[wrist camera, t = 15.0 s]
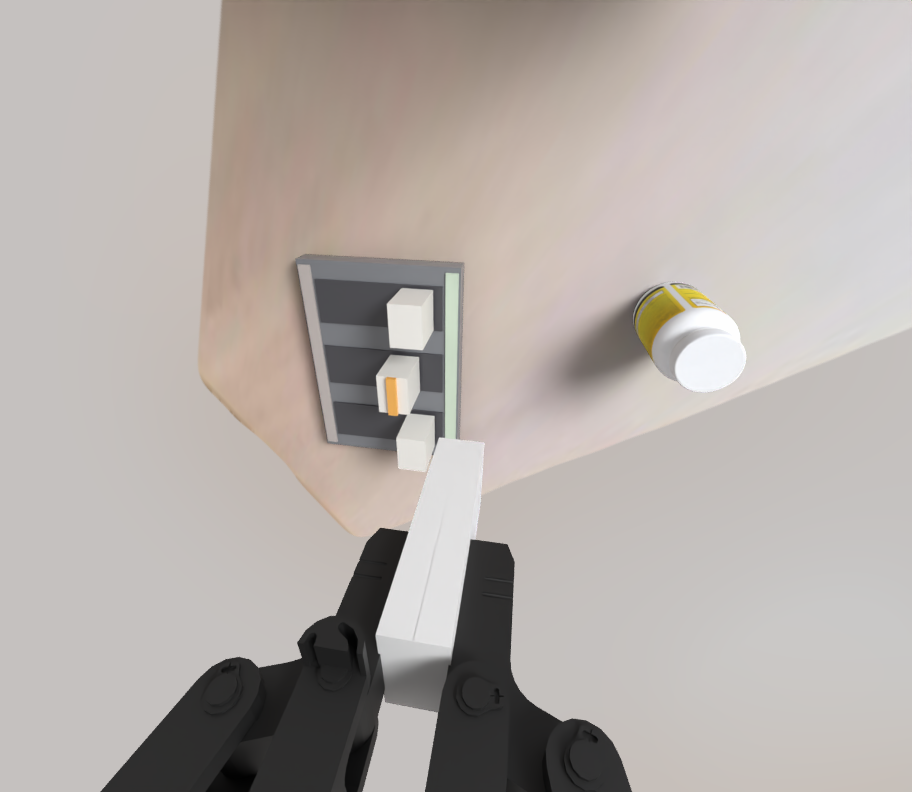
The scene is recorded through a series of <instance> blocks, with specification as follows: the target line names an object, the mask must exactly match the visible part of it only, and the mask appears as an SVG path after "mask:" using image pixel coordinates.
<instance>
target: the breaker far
mask: <svg viewBox="0 0 912 792" xmlns="http://www.w3.org/2000/svg"><path fill="white" fill-rule="evenodd" d="M396 443H397V457H398V469H405V470H413V471H422V472H426V471H427V467H428V464H429V461H430V458H431V455H432V452H433V449H434V446H435V416H430V415H420V414H409V415H407V416H406V418H405V421H404V423H403V425H402V427H401V429H400V431H399V433H398V436H397V438H396Z"/></svg>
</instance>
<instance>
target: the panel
mask: <svg viewBox="0 0 912 792" xmlns="http://www.w3.org/2000/svg"><path fill="white" fill-rule="evenodd" d="M296 265H297V270H298V276H299V282H300V288H301V293H302V299H303V305H304V310H305V316H306V322H307V328H308V333H309V339H310V345H311V350H312V356H313V362H314V367H315V373H316V379H317V385H318V390H319V396H320V402H321V407H322V413H323V419H324V424H325V430H326V436H327V442H328V443H331V444H340V445H348V446H357V447H366V448H375V449H384V450H392V451H397V443H396V438H397V436H398V433H399V431H400V429H401V427H402V425H403V423H404V421H405V418H406V416H407V415H404V414H398V416H391V415H388V413H385V412H379V404H378V393H377V382H376V375H377V374H378V372H379V371H380V369H381V368H382V366H383V365H384V363H385V362H386V360H387V359H388V358H389V356H390V355H401V356H412V357H419V371H420V392H419V395H418V397H417V399H416V401H415V403H414V405H413V408H412V410H411V412H410V414H420V415H430V416H435V446H434V449H433V452H432V455H434V452H435V449H436V446H437V443H438V439H439V437H440V438H449V439H458V440H460V407H461V368H462V330H463V292H464V263H458V262H440V261H422V260H403V259H385V258H367V257H348V256H330V255H312V254H304V255H302V256H300V257H298V258H296ZM401 288H410V289H425V290H433V326H434V331H433V332H432V334H431V336H430V338H429V340H428V342H427V344H426V345H425V347H424V349H423V350H413V349H401V348H390V343H389V329H388V314H387V303H388V302H389V301H390V300H391V299H392V298H393V297H394V296H395V295H396V294H397V292H398V291H399V290H400V289H401Z"/></svg>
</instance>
